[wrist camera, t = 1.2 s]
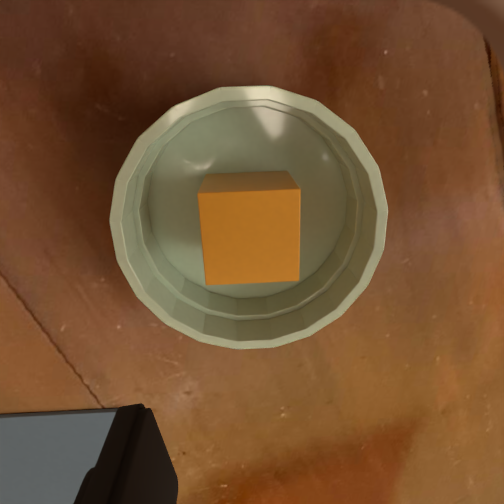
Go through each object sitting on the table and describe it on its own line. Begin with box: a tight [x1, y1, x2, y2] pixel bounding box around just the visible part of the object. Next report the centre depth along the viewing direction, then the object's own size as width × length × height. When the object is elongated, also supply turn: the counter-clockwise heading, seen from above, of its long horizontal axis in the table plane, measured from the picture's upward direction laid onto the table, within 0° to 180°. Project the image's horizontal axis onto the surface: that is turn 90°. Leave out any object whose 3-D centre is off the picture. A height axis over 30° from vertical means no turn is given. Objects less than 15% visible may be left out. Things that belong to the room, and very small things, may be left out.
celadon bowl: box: [109, 85, 388, 349], centre depth 21 cm, size 14×14×5 cm
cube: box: [197, 171, 301, 285], centre depth 21 cm, size 5×5×5 cm
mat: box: [0, 408, 118, 504], centre depth 32 cm, size 16×16×1 cm
